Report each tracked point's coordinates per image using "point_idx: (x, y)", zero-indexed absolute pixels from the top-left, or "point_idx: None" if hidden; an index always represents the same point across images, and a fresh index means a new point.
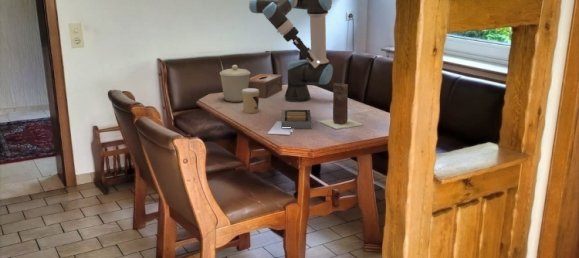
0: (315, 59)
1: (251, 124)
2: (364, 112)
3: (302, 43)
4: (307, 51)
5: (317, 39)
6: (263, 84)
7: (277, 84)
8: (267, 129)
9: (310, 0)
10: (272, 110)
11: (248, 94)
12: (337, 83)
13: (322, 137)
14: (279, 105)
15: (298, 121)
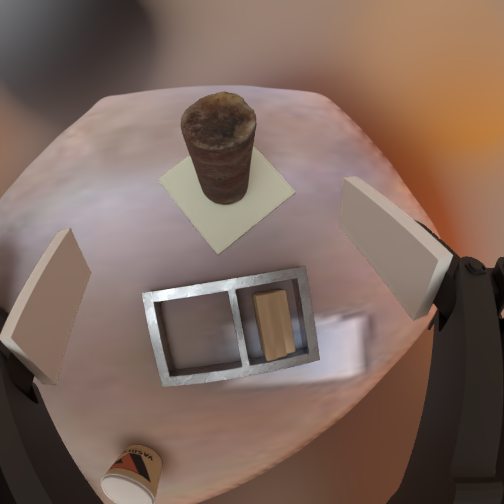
0: (69, 250)
1: (279, 438)
2: (96, 138)
3: (501, 488)
4: (492, 300)
5: None
6: None
7: None
8: (324, 387)
9: None
10: (112, 410)
11: (154, 495)
12: (209, 131)
13: None
14: (59, 390)
15: (307, 308)
